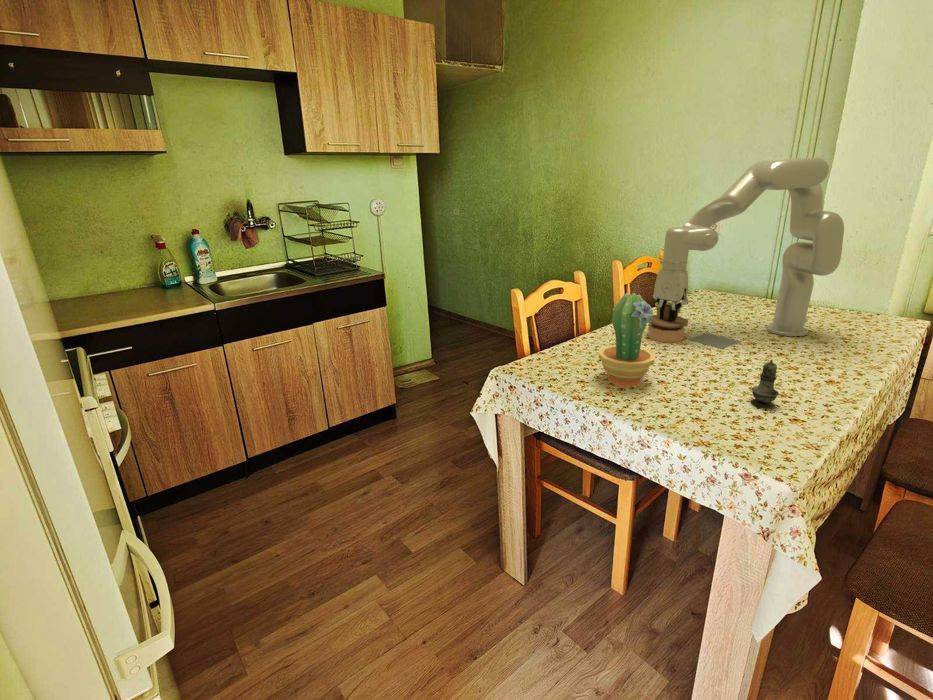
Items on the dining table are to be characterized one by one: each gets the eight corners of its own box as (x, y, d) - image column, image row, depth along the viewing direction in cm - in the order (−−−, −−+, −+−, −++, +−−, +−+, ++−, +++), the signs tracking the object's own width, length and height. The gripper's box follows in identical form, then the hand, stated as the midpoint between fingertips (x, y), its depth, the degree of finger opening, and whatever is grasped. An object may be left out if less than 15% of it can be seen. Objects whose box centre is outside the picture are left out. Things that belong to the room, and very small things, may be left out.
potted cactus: (599, 390, 131) (606, 300, 122) (593, 368, 145) (599, 287, 137) (658, 392, 129) (670, 301, 120) (646, 370, 143) (656, 287, 135)
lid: (662, 314, 175) (664, 299, 173) (695, 323, 165) (698, 306, 163) (639, 321, 168) (640, 304, 166) (672, 330, 158) (674, 313, 156)
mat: (707, 335, 172) (708, 332, 172) (741, 344, 162) (741, 341, 162) (687, 342, 166) (687, 339, 166) (720, 351, 156) (721, 348, 156)
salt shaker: (744, 399, 124) (752, 355, 120) (765, 398, 124) (774, 354, 120) (758, 410, 118) (768, 364, 114) (781, 408, 119) (791, 363, 115)
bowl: (661, 333, 176) (662, 319, 174) (688, 340, 167) (690, 327, 165) (641, 338, 170) (643, 325, 169) (668, 347, 162) (670, 332, 160)
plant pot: (674, 323, 186) (677, 301, 183) (682, 331, 178) (685, 308, 175) (649, 323, 187) (652, 301, 184) (656, 330, 178) (659, 308, 175)
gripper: (646, 264, 164) (640, 316, 171) (689, 271, 151) (682, 327, 158) (660, 261, 168) (654, 312, 174) (703, 268, 155) (696, 322, 162)
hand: (667, 318), depth 166 cm, fingers closed on lid, 3 cm apart
